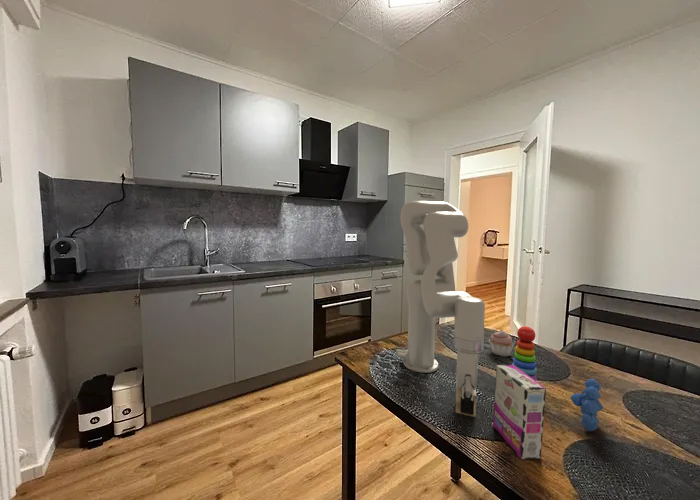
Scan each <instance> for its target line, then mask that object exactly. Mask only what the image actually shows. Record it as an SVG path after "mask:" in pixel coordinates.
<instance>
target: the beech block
mask: <svg viewBox="0 0 700 500" xmlns="http://www.w3.org/2000/svg"><path fill="white" fill-rule="evenodd" d="M464 386H466V384H464ZM471 387H472V386H471ZM455 388H456V389H455V391H456V392H455V393H456V394H455V413H456V414H460V415H464V416H468V417H473V418H476V412H477V411H476V409H477V388H476V389H475V390H473V399H474V414H473V415H471V414H466V413H461V411H460V407H461V397H462V387H459V388H458V387H457V386H456V387H455ZM465 390H466V389H464V392H465Z"/></svg>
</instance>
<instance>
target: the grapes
mask: <svg viewBox="0 0 700 500" xmlns="http://www.w3.org/2000/svg"><path fill="white" fill-rule="evenodd" d="M584 386H585V388H584V389H583V390H582V391H581V394H580V393H579V392H576V393H573V394H572V395H571V396H570V397H569V399H570V400H571V401H572V402H573V404H574V405H575V406H577V407H579V408H580V412H581V413H582V415H581V419H582V420H580V422H581V424H582V426H583V427H584V428H585V430H586V431H588V432H593V431H595V430H597V429H598V428H599V426H598V423H600V422H599V420H598V418H597V416H598V413H599V412H600V411H602V410H603V409H604V406H603V405H602V403H601V401H600V400H599V399H600V398H601V394H600V392H599V391H600V390H601V388H602V386H601V385H600V384H599V382H598V381H597V380H596V379H595V378H589V379H587V380H586V381H585V382H584Z"/></svg>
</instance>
